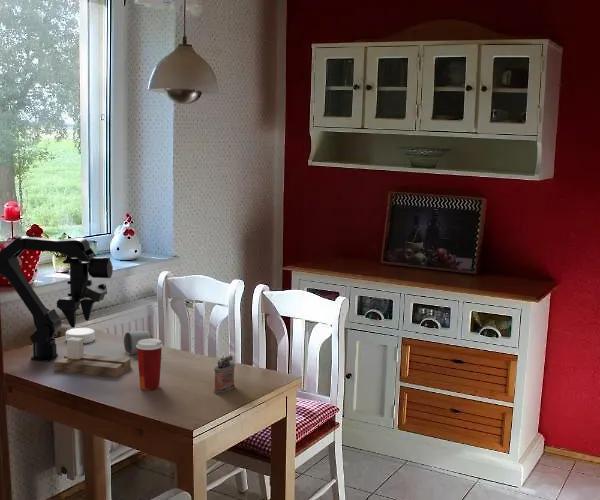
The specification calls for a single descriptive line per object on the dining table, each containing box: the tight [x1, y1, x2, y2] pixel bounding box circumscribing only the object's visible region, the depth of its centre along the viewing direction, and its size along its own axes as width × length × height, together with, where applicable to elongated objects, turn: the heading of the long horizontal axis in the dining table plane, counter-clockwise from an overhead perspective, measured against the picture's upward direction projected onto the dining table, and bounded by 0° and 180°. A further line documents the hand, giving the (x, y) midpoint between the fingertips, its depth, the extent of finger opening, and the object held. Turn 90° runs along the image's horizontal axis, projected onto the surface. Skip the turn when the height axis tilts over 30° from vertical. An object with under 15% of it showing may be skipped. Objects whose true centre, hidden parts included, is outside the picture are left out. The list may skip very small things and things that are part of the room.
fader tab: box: [66, 337, 85, 360], centre depth 237 cm, size 4×3×8 cm
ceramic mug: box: [123, 330, 154, 355], centre depth 256 cm, size 11×8×8 cm
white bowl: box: [65, 327, 96, 344], centre depth 267 cm, size 10×10×4 cm
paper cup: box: [136, 338, 164, 391], centre depth 221 cm, size 8×8×14 cm
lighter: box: [213, 354, 236, 395], centre depth 220 cm, size 8×3×10 cm, turn 148°
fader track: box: [53, 353, 132, 378], centre depth 236 cm, size 21×10×3 cm, turn 78°
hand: (80, 323), depth 244 cm, fingers open, 9 cm apart
